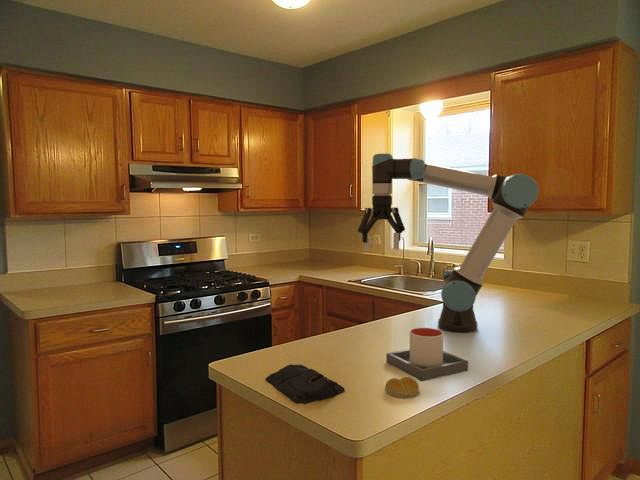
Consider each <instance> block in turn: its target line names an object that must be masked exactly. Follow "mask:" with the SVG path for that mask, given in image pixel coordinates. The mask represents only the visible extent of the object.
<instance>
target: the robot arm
mask: <svg viewBox="0 0 640 480" xmlns="http://www.w3.org/2000/svg"><path fill="white" fill-rule="evenodd" d="M425 162H426V161H425V159H424V158H416V157H413V158H394V157H393V155H392V153H376V154H374V155H373V156H372V165H371V171H372V172H371V173H372V176H371V177H372V184H371V186H372V188H371V191H372V194H373V195H372V196H371V197H372V198H371V204H372V208H371V207H365V209H364V214H363V216H362V219H361V221H360V224H359V226H358V229H357V232H358V233H360V234H362V235H361V236H362V240H361V241H362V243H363V251H364V252H368V253H369V252H370V247H371V246H370V243H371V241H370V239H371V238H370V237H371V236H370V233H369V232H370V231H371V230H372V228H373V226H374V225H375V223H376V222H377V221H379V220H386V221H387V222H388V223H389V225H390V226H391V228H392V229H393V230H394V232H393V234H392V235H393V237H392V238H393V240H392V241H393V244H392V245H393V248H392V249H393V250H397V251H398V250H400V241H401V234H403V232H405V230H406V228H405V225H404V223H403V221H402V218H401V215H400V212H399V207H392V205H393V196H392V194H393V180H408V181H412V182H413V181H414V182H417V183H419V182H420V183H424V184H429V185H434V186H439V187H443V188H448V189H453V190H456V191H457V190H458V191H462V192H467V193H472V194H477V195H482V196H486V197H488V199H489V200H492V202H491V203H492V208H493V209H492V211H491V213H490V214H489V216H488V218H487V220H486V221H485V223H484V225H483V227H482V228H481V230H480V231H479V233H478V236H477V237H476V238H475V240H474V242H473V244H472V245H471V247H470V249H469V251H468V252H467V254H466V255H465V257H464V259H463V261H462V263H461V265H459V266H457V267H454V268H453V269H452V270H451V269H450V270H449V269H447V270H444V272H443V276H442V279H443V283H442V285H443V286H442V289H441V293H440V294H441V296H440V297H441V300H442V308H441V309H442V310H441V313H440V316H439V318H438V321H437V326H438V328H440V329H441V330H444V331H447V332H454V333H470V332H475V331H477V330H478V321H477V320H476V319H477V318H476V314H475V310H474V304H475V303H476V299H477V295H478V294H479V292H480V291H481V289H482V287H483V285H484V282H483V276H484V275H485V274H486V271H487V270H488V269H489V267H490V265H491V264H492V261H493V260H494V258H495V256H497V253H498V252H499V249H500V248H501V247H502V245H503V243H504V241H505V239H506V238H507V236H508V234H509V233H510V231H511V229H512V228H513V226H514V225H515V222H517V220H520V219H523V218H524V216H525V215H526V213H527V212H528V210H529V208H530V207H531V205H533V204H534V203H535V202H536V201H537V199H538V196H539V186H538V183H537V182H536V180H535V179H534V178H533V177H531V176H530V175H527V174H524V173H515V174H511V175H500V174H495V175H493V176H492V175H486V174H481V173H475V172H473V171H472V172H470V171H466V170H461V169H460V170H459V169H456V168H450V167H446V166H439V165H435V164H434V165H433V164H429V163H425ZM391 213H392V214H391Z"/></svg>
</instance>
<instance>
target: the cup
mask: <svg viewBox="0 0 640 480" xmlns="http://www.w3.org/2000/svg"><path fill="white" fill-rule="evenodd" d="M409 349H410V362H411V363H412V364H414V365H416V366H418V367H421V368H429V367H434V366H438V365H441V364H442V362H443V351H444V332H443V331H442V330H439V329H436V328H432V327H431V328H430V327H417V328H413V329H411V330H410V331H409Z"/></svg>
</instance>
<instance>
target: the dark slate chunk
mask: <svg viewBox="0 0 640 480" xmlns="http://www.w3.org/2000/svg"><path fill="white" fill-rule="evenodd" d="M265 381H266V382H267V383H269V384H270V385H271V386H272V387H273V388H274V389H275V390H277V391H278V392H279V393H281V394H282V395H283V396H284V397H286V398H288V399H289V400H290V401H291V402H293V403H295V404H303V405H307V404H311V403H313V402H319V401H324V400H328V399H330V398H334V397H335V396H337V395H340V394H341V393H344V392H345V391H346V390H345V387H343V386H342V385H341V384H339V383H337V382H335V381H334V380H332V379H329V378H328V377H327V376H324V374H323V373H320V372H318V371H317V370H315V369H313V368H309V367H307V366H305V365H303V364H287V365H286V366H284V367H282V368H280V369H278V370H277V371H276V372H273V373H270V375H268V376H266V377H265Z"/></svg>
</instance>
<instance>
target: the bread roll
mask: <svg viewBox="0 0 640 480" xmlns="http://www.w3.org/2000/svg"><path fill="white" fill-rule="evenodd" d="M419 388H420V386H419V383H418V382H417V381H416V380H415V378H412V377H410V376H404V377H401V378H400V379H399V378H396V377H394V378H393V377H392V378H390V379H388V380H387V381H386V384H385V387H384V390H385V392H386V394H388V395H389V396H391V397H394V398H398V399H406V398H415V397H418V396H419V395H420V389H419Z"/></svg>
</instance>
